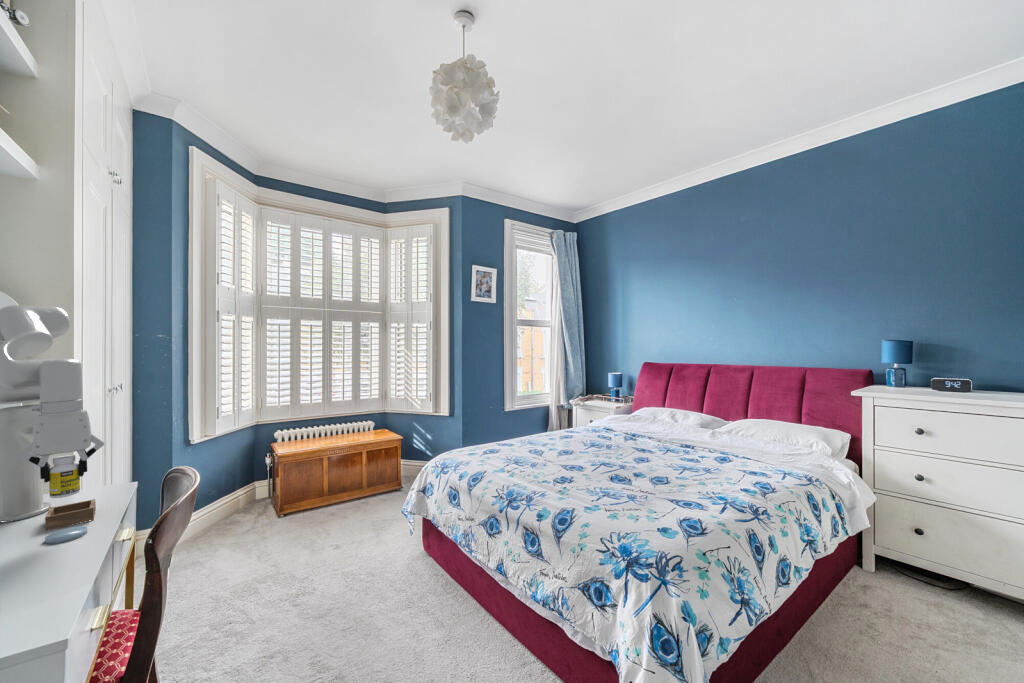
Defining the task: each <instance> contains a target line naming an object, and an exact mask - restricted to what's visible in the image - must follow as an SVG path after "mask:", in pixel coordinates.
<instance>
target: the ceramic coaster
mask: <svg viewBox="0 0 1024 683" xmlns="http://www.w3.org/2000/svg"><path fill="white" fill-rule="evenodd" d="M87 533H88V527H87V526H84V525H83V526H81V525H80V526H72V527H69V528H67V527H66V528H63V529H59V530H57V531H54V532H52V533H49V534H48V535H46V536H45V537H44V543H45V544H46V545H55V544H62V543H66V542H69V541H73V540H76V539H79V538H81V537H83V536H85V535H86V534H87Z"/></svg>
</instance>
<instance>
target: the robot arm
mask: <svg viewBox="0 0 1024 683" xmlns="http://www.w3.org/2000/svg"><path fill="white" fill-rule="evenodd" d="M70 327H71V319H70V316H69V314H68V313H67V311H65V310H64V309H63V308H61V307H58V306H53V305H51V306H49V305H47V306H46V305H26V304H25V305H23V304H17V305H16V304H14V305H8V306H4V307H1V308H0V405H16V406H8V407H2V408H0V522H1V521H9V522H14V521H13V520H15V521H19V520H23V519H28V518H32V517H34V516H37V515H40V514H42V513H45V512H48V511H49V509H50V508H52V503H51V502H46V501H44V486H43V484H46V483H49V469H50V468H51V464H49V462H48V460H49V458H50V456H51V455H52V456H53V455H58V454H65V453H66V454H67V453H72V452H73V453H74V452H77V454H78V456H79V457H80V458H79V461H78V464H79V476H80V478H81V477H82V478H83V477H84V475H85V473H86V472H88V459H90V457H91V456H93V455H94V453H96V452H97V451H98V450H100V449H101V448H102V447H103V446H104V445H105V442H104V441H103V440H101V439H100V438H98V437H97V436H95V435H93V434H92V429H91V422H90V416H89V414H88V411H87V410H84V400H83V397H84V396H83V393H84V391H83V372H82V370H83V369H82V362H80V360H78V359H76V358H75V359H74V358H73V359H72V358H69V357H68V358H67V357H66V358H65V357H62V358H61V357H59V358H58V357H57V358H31V357H34V356H35V357H36V356H38V355H40V354H43V353H45V352H46V351H48V350H49V349H50V348H51V347H52V345H53V343H54V339H56V338H58V337H61V336H63V335H65V334H66V333H67V332H68V331H69V329H70ZM36 402H39V403H38V404H27V405H17V404H26V403H36ZM30 438H32V442H31V441H30V440H29V439H30ZM92 443H93V444H94V445H93V446H92V447H91V445H92ZM90 447H91V448H90ZM87 449H88V450H87ZM43 480H44V481H43ZM11 520H12V521H11Z"/></svg>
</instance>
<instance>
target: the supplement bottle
mask: <svg viewBox="0 0 1024 683" xmlns="http://www.w3.org/2000/svg"><path fill="white" fill-rule="evenodd" d="M52 465H53V466H52V467H51V466H50V469H49V482H48V483H49V484H48V485H49V487H48V488H49V490H48V491H49V498H51V499H61V498H62V499H63V498H67V497H71V496H74V495H77V494H79V493H80V492H81V477H80V476H79V463H76V455H75V454H68V455H67V454H66V455H65V454H64V455H61V456H55V457H53V458H52Z"/></svg>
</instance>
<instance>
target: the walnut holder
mask: <svg viewBox="0 0 1024 683" xmlns="http://www.w3.org/2000/svg"><path fill="white" fill-rule="evenodd" d="M95 511H96V512H97V509H96V498H93V499H90V500H85V501H79V502H74V503H73V502H72V503H68V504H63V505H59V506H58V505H57V506H54V507H53V506H51V508H50V509H49V510H47V513H46V514H45V517H44V522H45V523H44V524H45V531H46V532H47V531H52V530H56V529H59V528H64V527H68V526H69V525H70V526H73V525H72V524H74V525H77V524H76V523H79V524H81V523H80V522H84V523H86V522H85V521H88V522H90V521H89V520H93V521H95V516H96V512H95ZM94 515H95V516H94Z"/></svg>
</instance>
